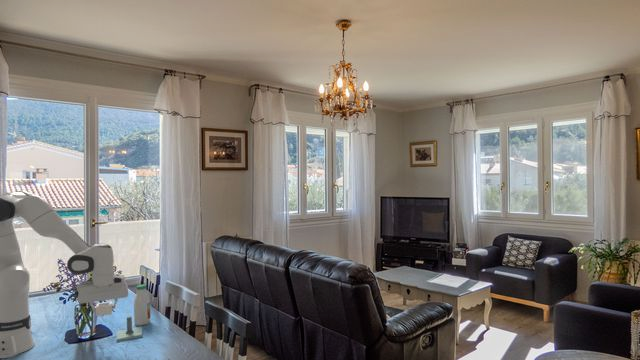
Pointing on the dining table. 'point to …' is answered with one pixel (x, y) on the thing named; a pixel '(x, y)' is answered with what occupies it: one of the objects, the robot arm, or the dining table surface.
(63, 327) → the dining table surface
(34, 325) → the dining table surface
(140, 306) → the milk bottle
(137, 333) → the post stand
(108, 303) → the beige square open box
